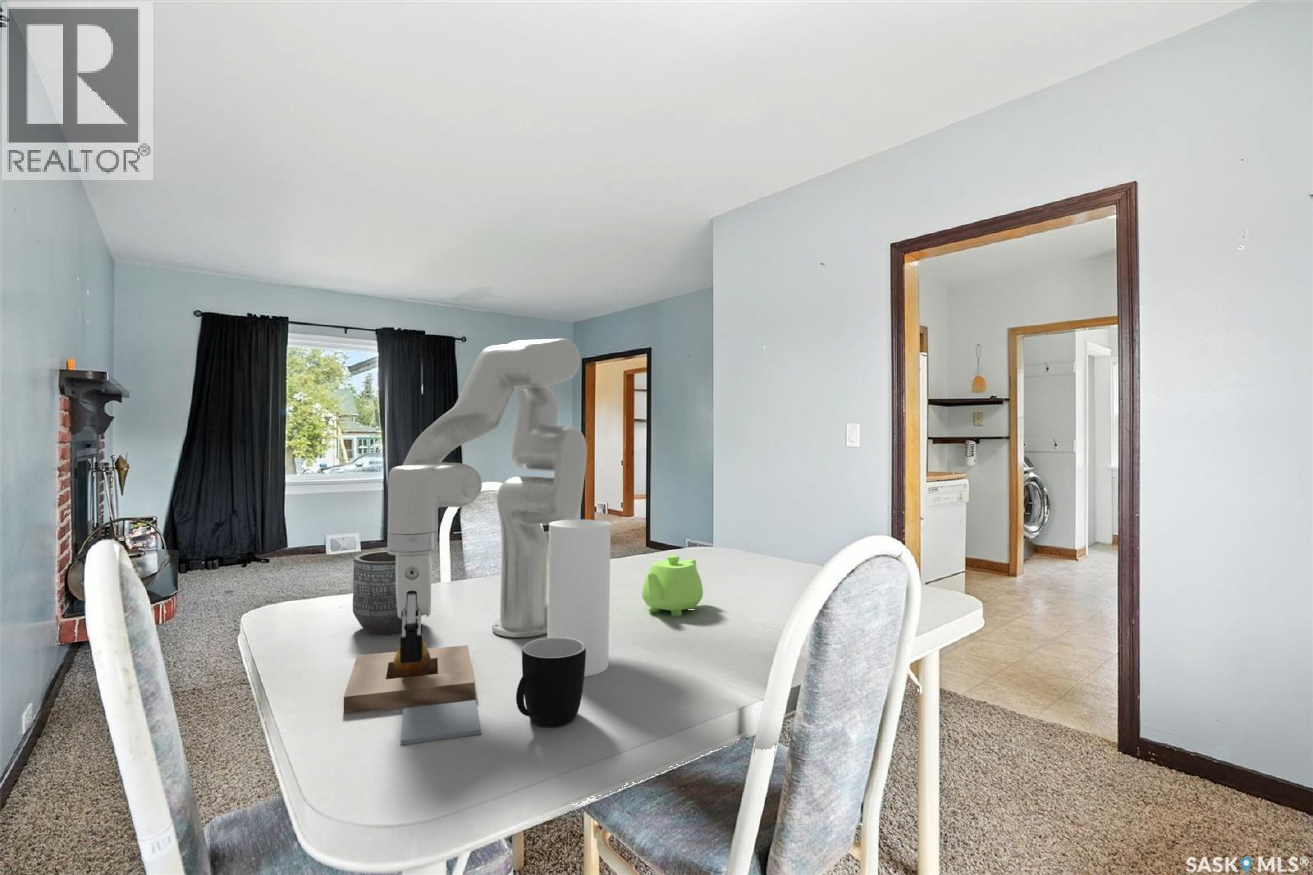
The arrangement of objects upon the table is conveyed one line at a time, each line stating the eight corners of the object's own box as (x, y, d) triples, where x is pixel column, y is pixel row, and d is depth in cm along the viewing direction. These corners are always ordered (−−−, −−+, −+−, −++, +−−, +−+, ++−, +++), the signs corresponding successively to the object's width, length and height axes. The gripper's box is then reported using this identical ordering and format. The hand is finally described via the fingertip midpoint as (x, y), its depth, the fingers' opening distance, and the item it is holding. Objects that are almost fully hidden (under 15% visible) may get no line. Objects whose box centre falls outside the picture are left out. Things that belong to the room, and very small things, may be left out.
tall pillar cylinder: (617, 659, 114) (619, 521, 114) (592, 681, 104) (595, 529, 104) (564, 652, 118) (566, 517, 118) (535, 672, 108) (537, 525, 108)
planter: (336, 632, 127) (337, 558, 127) (390, 614, 140) (391, 547, 140) (390, 642, 122) (391, 564, 122) (441, 622, 135) (442, 552, 135)
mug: (547, 699, 97) (549, 633, 97) (596, 713, 92) (598, 643, 92) (492, 731, 86) (493, 656, 86) (544, 747, 82) (545, 669, 82)
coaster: (475, 704, 95) (475, 700, 95) (480, 733, 85) (480, 729, 85) (403, 712, 91) (403, 708, 91) (400, 744, 82) (400, 740, 82)
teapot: (673, 625, 136) (674, 566, 136) (623, 615, 143) (624, 559, 143) (717, 605, 153) (718, 553, 153) (670, 597, 160) (671, 547, 160)
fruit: (420, 669, 106) (421, 597, 106) (436, 679, 102) (437, 604, 102) (386, 678, 102) (387, 603, 102) (401, 688, 98) (402, 611, 98)
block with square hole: (467, 659, 113) (467, 645, 113) (474, 698, 96) (474, 682, 96) (356, 670, 107) (357, 655, 107) (343, 714, 90) (343, 696, 90)
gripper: (438, 550, 95) (437, 671, 95) (436, 533, 111) (435, 637, 111) (384, 553, 93) (382, 677, 93) (390, 535, 109) (389, 641, 109)
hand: (411, 654), depth 102 cm, fingers closed on fruit, 5 cm apart
